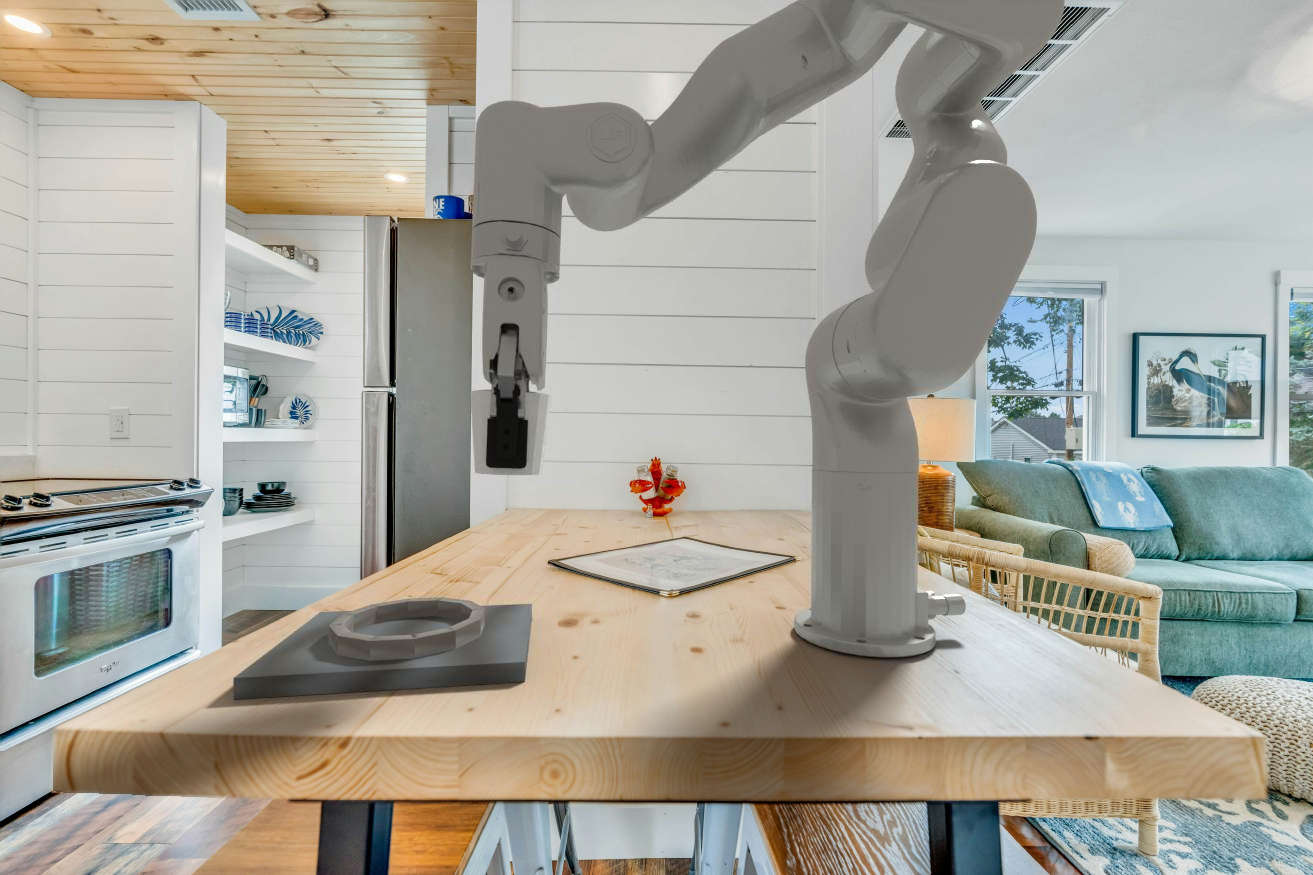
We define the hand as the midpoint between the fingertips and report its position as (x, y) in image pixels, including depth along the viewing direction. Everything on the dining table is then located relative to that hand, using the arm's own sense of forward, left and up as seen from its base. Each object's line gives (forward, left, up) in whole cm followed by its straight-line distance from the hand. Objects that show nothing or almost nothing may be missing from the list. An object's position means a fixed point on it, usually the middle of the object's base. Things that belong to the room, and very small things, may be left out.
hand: (509, 463), depth 52 cm
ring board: (+8, -1, -16) cm, 18 cm away
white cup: (0, 0, -1) cm, 1 cm away
